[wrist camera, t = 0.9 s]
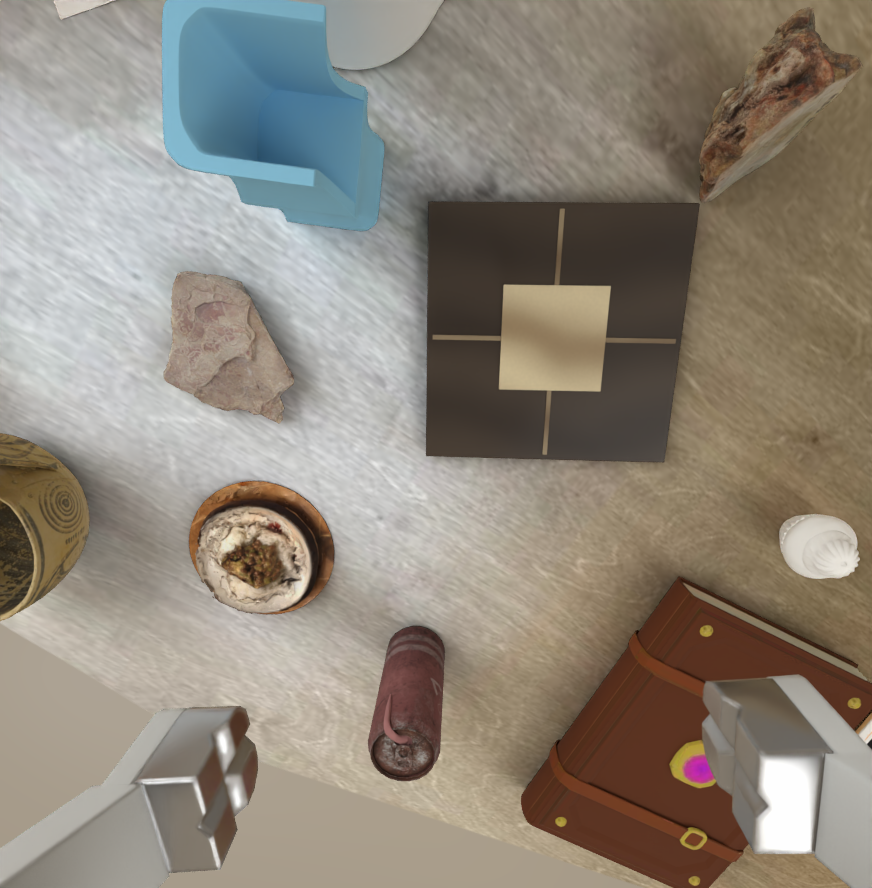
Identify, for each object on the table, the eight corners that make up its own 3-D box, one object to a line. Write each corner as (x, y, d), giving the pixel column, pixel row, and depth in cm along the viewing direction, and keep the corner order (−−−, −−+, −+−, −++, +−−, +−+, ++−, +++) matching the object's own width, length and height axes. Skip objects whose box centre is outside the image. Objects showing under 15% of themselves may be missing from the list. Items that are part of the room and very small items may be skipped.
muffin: (834, 548, 52) (890, 585, 45) (770, 567, 52) (816, 607, 46) (822, 492, 50) (878, 522, 43) (757, 512, 51) (801, 545, 44)
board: (429, 204, 45) (428, 200, 43) (692, 206, 44) (701, 202, 42) (426, 451, 51) (425, 456, 49) (658, 457, 50) (665, 463, 48)
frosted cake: (343, 497, 53) (333, 514, 49) (323, 625, 57) (312, 650, 53) (197, 468, 53) (175, 482, 48) (187, 597, 57) (167, 620, 53)
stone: (315, 302, 48) (306, 302, 45) (289, 424, 51) (280, 431, 48) (188, 265, 47) (172, 264, 45) (171, 391, 51) (155, 397, 48)
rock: (793, 133, 43) (712, 229, 44) (730, 86, 44) (651, 182, 44) (907, 22, 32) (795, 154, 32) (821, -41, 32) (711, 91, 33)
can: (421, 611, 56) (408, 712, 42) (456, 654, 57) (454, 765, 44) (376, 639, 57) (349, 745, 43) (411, 680, 58) (395, 796, 45)
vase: (376, 233, 46) (315, 188, 27) (287, 221, 46) (161, 167, 27) (386, 132, 44) (326, 3, 24) (292, 119, 44) (159, -19, 25)
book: (857, 664, 55) (895, 699, 50) (684, 860, 63) (703, 906, 58) (670, 571, 53) (691, 598, 48) (517, 785, 61) (522, 827, 57)
